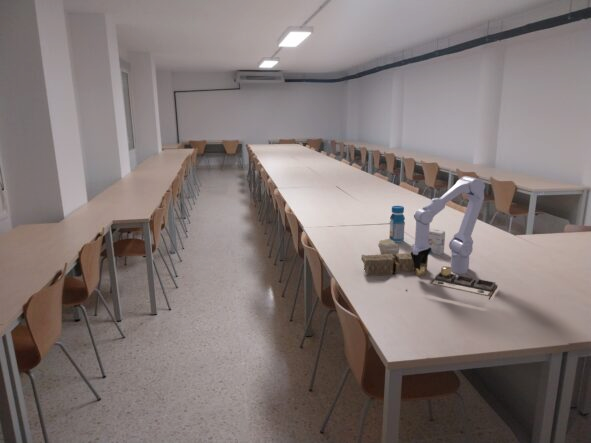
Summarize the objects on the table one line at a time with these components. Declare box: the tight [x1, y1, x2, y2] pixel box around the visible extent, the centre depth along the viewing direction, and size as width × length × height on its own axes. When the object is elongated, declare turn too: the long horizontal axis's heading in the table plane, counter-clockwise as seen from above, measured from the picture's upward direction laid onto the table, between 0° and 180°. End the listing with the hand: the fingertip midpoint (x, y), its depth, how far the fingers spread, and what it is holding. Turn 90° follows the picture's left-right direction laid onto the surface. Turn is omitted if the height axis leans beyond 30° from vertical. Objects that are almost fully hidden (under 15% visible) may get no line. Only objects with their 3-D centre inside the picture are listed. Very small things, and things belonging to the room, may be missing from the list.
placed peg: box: [440, 265, 452, 279], centre depth 184 cm, size 4×4×5 cm
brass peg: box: [414, 265, 426, 277], centre depth 190 cm, size 4×4×5 cm
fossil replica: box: [377, 238, 400, 256], centre depth 220 cm, size 12×8×10 cm
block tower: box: [361, 252, 429, 276], centre depth 197 cm, size 8×8×29 cm
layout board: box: [429, 271, 498, 300], centre depth 178 cm, size 14×24×3 cm, turn 54°
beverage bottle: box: [388, 205, 406, 243], centre depth 242 cm, size 8×8×20 cm
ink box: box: [429, 228, 446, 256], centre depth 222 cm, size 9×5×12 cm, turn 47°
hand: (420, 265), depth 189 cm, fingers open, 7 cm apart
